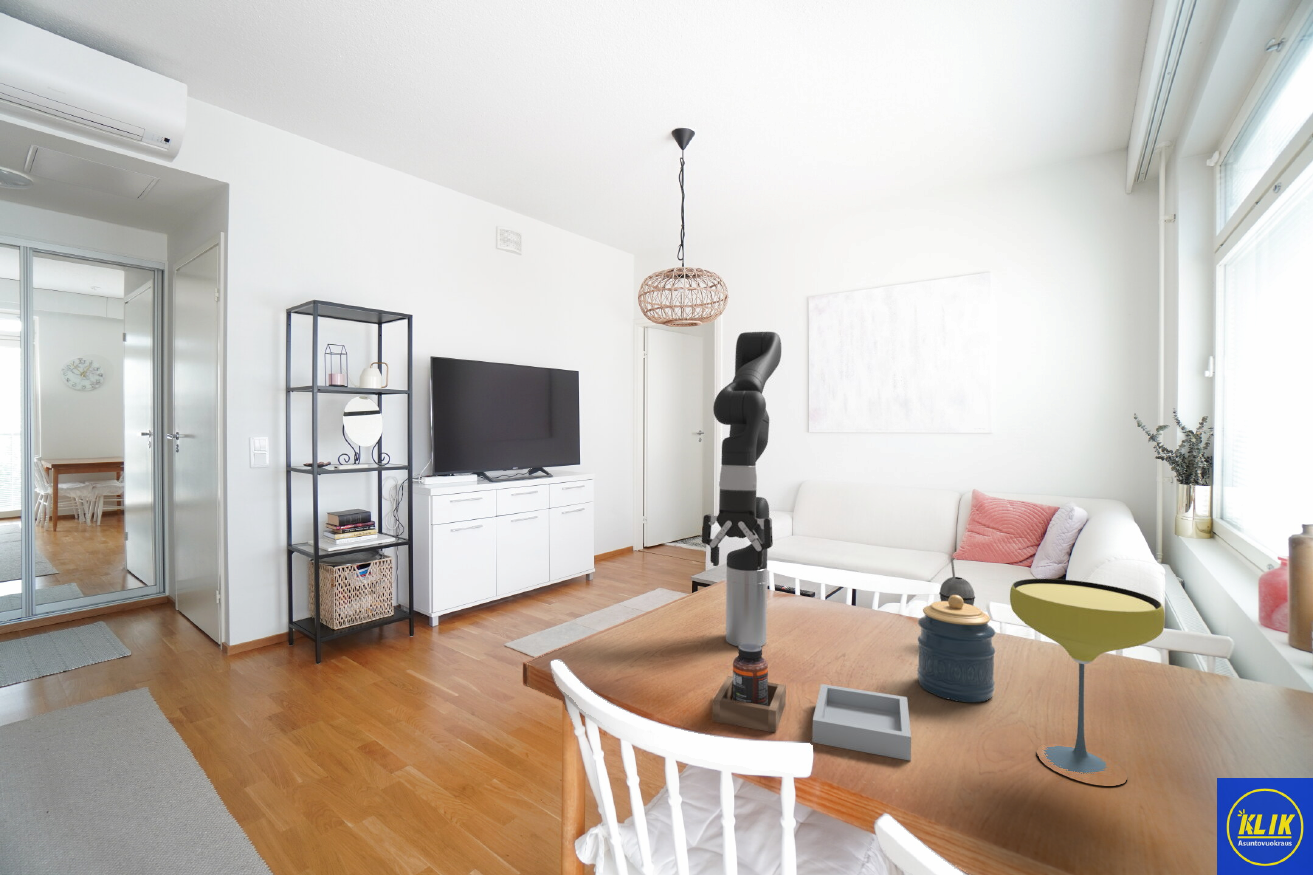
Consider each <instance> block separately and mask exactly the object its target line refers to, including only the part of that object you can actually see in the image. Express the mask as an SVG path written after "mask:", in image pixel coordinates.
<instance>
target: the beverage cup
mask: <svg viewBox="0 0 1313 875" xmlns="http://www.w3.org/2000/svg"><path fill="white" fill-rule="evenodd" d="M950 564H951V573H952V577H949V578H946V579H945V580H944V581H943V582H942V584H941V586H940V589H939V595H940V596H939V599H940V601H948V599H949V597H950V596H952V595H958V596H960V597H961V598H962V599H963V601H964V603H965V604H969V605H972V606H974V604H975V599H976V596H975V591H974V588H973V587H972V584H971V583H970V582H969V581H968V580H966V579H965V578H963V577H959V576H956V572H955V562H954V557H950Z"/></svg>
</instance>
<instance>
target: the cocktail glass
mask: <svg viewBox="0 0 1313 875" xmlns="http://www.w3.org/2000/svg"><path fill="white" fill-rule="evenodd" d="M1009 602H1010V606H1011V610H1012V612H1013V613H1014V614H1015V616H1017V618H1018V619H1019V620H1021V621H1022V622H1023V623H1024V624H1025V625H1027V626H1028V627H1030V628H1031V629H1033V630H1034V631H1036V632H1037V633H1038V634H1041V635H1043V636H1045V637H1047V638H1048V639H1049V640H1052V641H1053V642H1055V643H1057V644H1058V645H1060V646H1061V647H1062V648H1064V649H1065V651H1066V652H1067V653H1068V655H1069V656H1070V658H1071V659H1072V660H1073V661H1074V662H1076V663H1078V704H1077V705H1078V706H1077V707H1078V708H1077V733H1076V740H1075V744H1074V746H1075V748H1072V747H1063V746H1055V747H1047V748H1048V749H1047V748H1046V749H1047V750H1044V751H1045V752H1046V753H1044V754H1045V755H1046V754H1047V755H1048V756H1046V757H1047V759H1049V760H1051V761H1050V762H1053V763H1054V764H1053V765H1056V766H1058V767H1059V768H1063V769H1068V771H1073V772H1074V771H1075V772H1079V773H1080V772H1083V774H1084V773H1086V772H1087V773H1089V772H1090V773H1091V772H1099V771H1105V770H1103V769H1105V768H1107V767H1105V766H1106V763H1105V761H1102V759H1101V758H1098V757H1097V756H1095V755H1093V754H1091V753H1088V752H1087V751H1086V749H1087V748H1086V741H1085V717H1084V716H1085V665H1089V664H1091V663H1092V662H1094V661H1095V660H1096V659H1097V658H1099V656H1100V655H1102V654H1105V653H1109V652H1114V651H1119V650H1125V649H1130V648H1134V647H1139V646H1142V645H1145V644H1148V643H1149V642H1151V641H1154V640H1155V639H1156V638H1158V637H1160V636H1161V634H1163V631H1164V629H1165V620H1166V616H1165V614H1166V613H1165V609H1164V605H1163V604H1162V602H1161V601H1160V600H1158V599H1156V598H1155V597H1151V596H1150V595H1146V594H1143V593H1141V592H1137V591H1134V590H1130V589H1126V588H1122V587H1117V586H1113V585H1107V584H1101V583H1095V582H1089V581H1082V580H1080V581H1079V580H1073V579H1061V578H1060V579H1059V578H1027V579H1020V580H1017V581H1015V582H1013V583H1012V585H1011V587H1010V592H1009ZM1048 762H1049V761H1048ZM1060 766H1061V767H1060ZM1066 771H1067V770H1066ZM1087 773H1086V774H1087ZM1081 774H1082V773H1081ZM1091 774H1092V773H1091ZM1093 774H1094V773H1093Z"/></svg>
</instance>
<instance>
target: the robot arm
mask: <svg viewBox="0 0 1313 875" xmlns="http://www.w3.org/2000/svg"><path fill="white" fill-rule="evenodd" d="M781 357H782V340H781V337H780V335H779V334H778V332H774V331H750V332H749V331H748V332H747V331H746V332H741V333H740V334H739V335H738V337H737V339H736V345H735V356H734V358H735V359H734V360H735V363H734V377H733V378H732V381H731V382H730V383H729V384H727V385H726V386H725V387H723V388H722V389H721V390H720V391H719V393H718V394H717V396H716V397H715V399H714V401H713V415H714V417H715V419H716V421H717V422H719V423H720V424H722V425H724V426H725V425H726V426H729V436H728V437H724V439H723V440H722V442H721V458H720V460H721V461H720V462H721V463H720V464H721V467H720V473H719V482H718V483H719V484H718V487H719V493H718V494H719V496H718V497H719V499H718V504H719V505H718V514H717V515H712V514H710V513H709V514H705V515H703V521H702V530H701V532H702V533H701V543H702V544H704V545H707V546H709V547H710V557H709V558H710V563H711V564H712V566H714V567H718V566H719V565H720V546H719V544H720V543H721V542H722V541H723V539H725V537H726V536H727V537H728V538H738V539H744V538H745V539H747V540H748V541H749V542H750V544H748V545H747V546H745V547H742V548H739V549H735V550H732V551H729V553H727V555H726V575H725V576H726V577H725V578H726V583H725V584H726V587H725V588H726V589H725V590H726V594H725V596H726V598H725V599H726V600H725V602H726V604H725V607H726V608H725V611H726V612H725V640H726V642H727V643H728V644H730V645H732V646H734V647H739V646H740V645H741V644H744V643H753V644H757V645H760V646H761V647H763V646H765V645H766V644H767V625H768V622H767V621H768V620H767V619H768V617H767V614H768V613H767V612H768V611H767V610H768V609H767V608H768V549H770V548H772V547H773V544H774V541H773V520H772V518H771V517H770V506H769V505H770V504H769V502H768V501H767V498H765V497H761V496H757V483H758V482H757V480H758V477H757V476H758V475H757V469H756V465H757V461H758V460H759V459H760V457H761V456H762V455H763V453H764V451H765V450H766V449H767V446H768V442H769V432H770V416H769V413H768V411H767V402H766V398H765V396H764V395H763V391H764V389H765V385H766V384H767V381H768V380H769V378H771V376H772V375H773V374H774V372H775V371H776V369H777V368H778V366H779V365H780V362H781ZM715 522H716V523H717V524H718V526H719V527H720V530H719V531H718V532H717V533H716V535H715V536H714V538H711V535H712V527H713V525H715Z"/></svg>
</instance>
